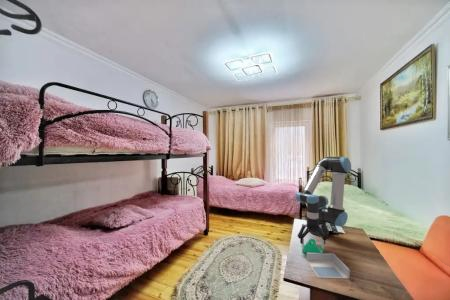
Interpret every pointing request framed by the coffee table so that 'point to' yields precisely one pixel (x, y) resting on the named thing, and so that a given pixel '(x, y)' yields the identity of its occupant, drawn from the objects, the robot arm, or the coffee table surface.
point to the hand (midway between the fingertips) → (312, 248)
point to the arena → (328, 265)
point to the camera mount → (311, 247)
